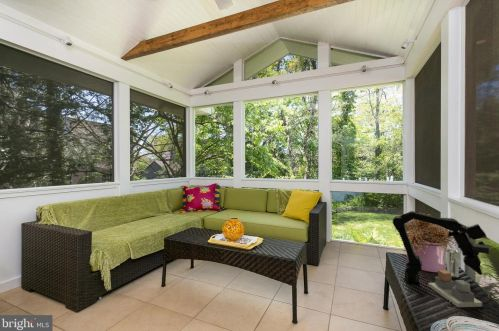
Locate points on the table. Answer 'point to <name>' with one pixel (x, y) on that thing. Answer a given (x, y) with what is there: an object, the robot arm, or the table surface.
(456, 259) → the beer glass
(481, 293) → the table surface
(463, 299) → the console
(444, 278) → the terracotta plunger
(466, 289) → the plunger
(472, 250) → the robot arm
